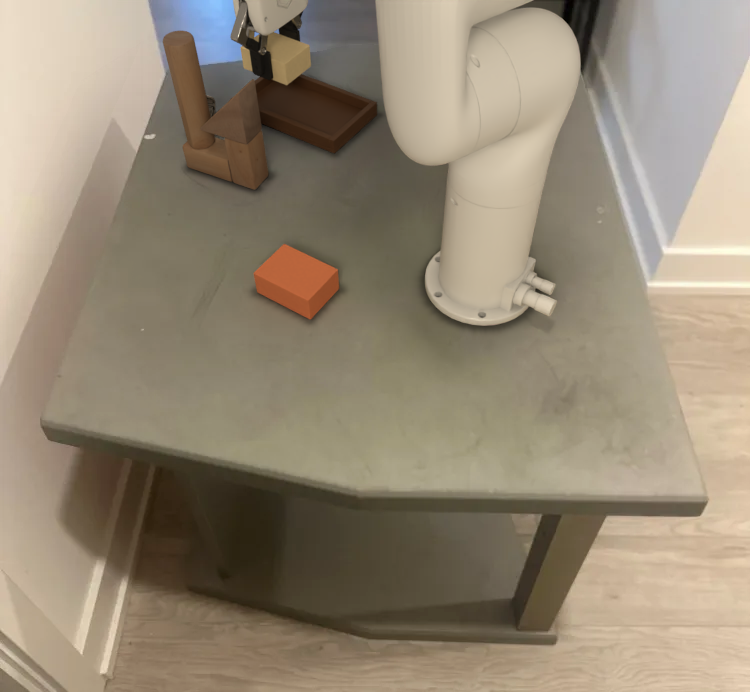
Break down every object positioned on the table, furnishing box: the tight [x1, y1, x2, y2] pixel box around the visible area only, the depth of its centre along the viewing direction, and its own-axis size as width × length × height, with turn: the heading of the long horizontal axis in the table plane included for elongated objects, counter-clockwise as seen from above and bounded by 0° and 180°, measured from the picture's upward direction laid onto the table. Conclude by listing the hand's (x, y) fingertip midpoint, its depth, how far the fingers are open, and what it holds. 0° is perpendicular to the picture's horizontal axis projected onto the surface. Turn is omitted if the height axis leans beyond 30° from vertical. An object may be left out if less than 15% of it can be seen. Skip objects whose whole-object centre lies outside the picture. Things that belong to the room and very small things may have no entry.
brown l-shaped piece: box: [162, 30, 269, 190], centre depth 91 cm, size 4×11×18 cm, turn 64°
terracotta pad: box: [253, 243, 340, 320], centre depth 83 cm, size 8×6×3 cm
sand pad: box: [239, 31, 312, 85], centre depth 102 cm, size 8×6×3 cm
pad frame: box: [230, 73, 378, 154], centre depth 105 cm, size 18×11×2 cm, turn 57°
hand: (277, 64), depth 102 cm, fingers closed on sand pad, 5 cm apart
